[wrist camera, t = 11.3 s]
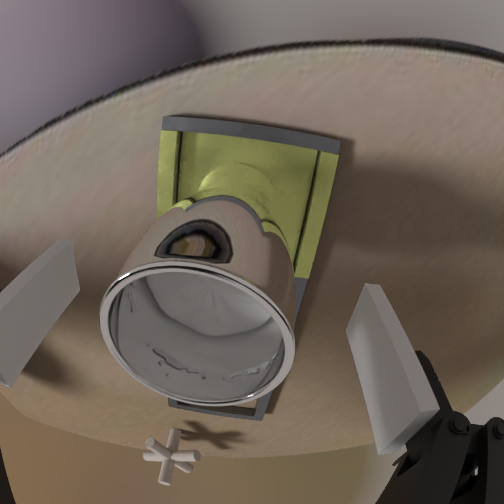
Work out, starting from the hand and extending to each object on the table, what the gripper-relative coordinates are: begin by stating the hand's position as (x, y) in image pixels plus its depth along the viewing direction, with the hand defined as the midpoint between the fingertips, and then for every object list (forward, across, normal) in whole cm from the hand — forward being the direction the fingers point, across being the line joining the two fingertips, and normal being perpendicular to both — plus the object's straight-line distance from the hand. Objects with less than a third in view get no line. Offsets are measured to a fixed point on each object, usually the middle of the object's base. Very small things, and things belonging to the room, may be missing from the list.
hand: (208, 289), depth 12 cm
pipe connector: (+12, -5, -38) cm, 40 cm away
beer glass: (+12, 0, 0) cm, 12 cm away
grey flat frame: (+12, +1, -11) cm, 16 cm away
